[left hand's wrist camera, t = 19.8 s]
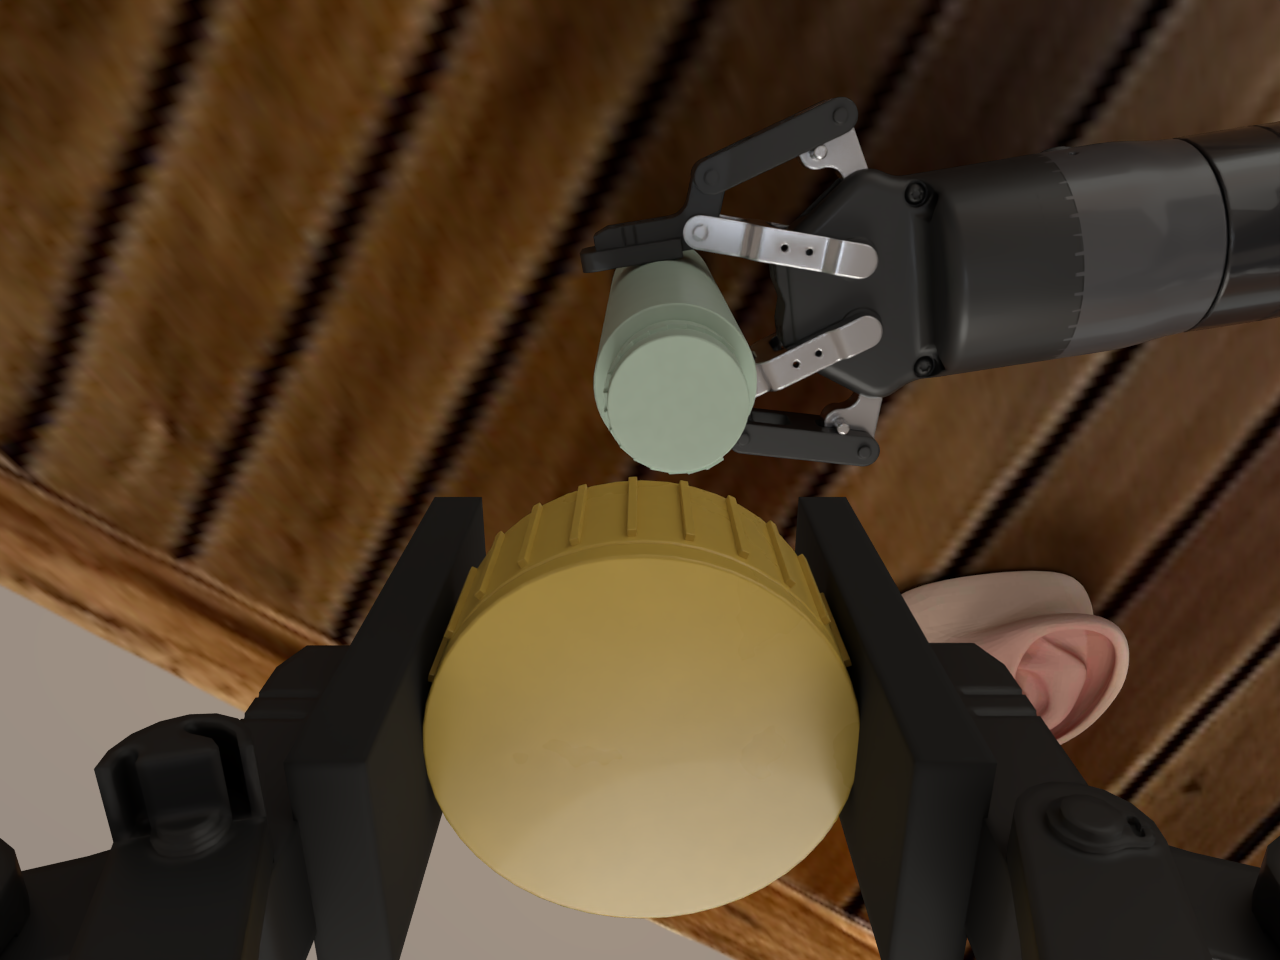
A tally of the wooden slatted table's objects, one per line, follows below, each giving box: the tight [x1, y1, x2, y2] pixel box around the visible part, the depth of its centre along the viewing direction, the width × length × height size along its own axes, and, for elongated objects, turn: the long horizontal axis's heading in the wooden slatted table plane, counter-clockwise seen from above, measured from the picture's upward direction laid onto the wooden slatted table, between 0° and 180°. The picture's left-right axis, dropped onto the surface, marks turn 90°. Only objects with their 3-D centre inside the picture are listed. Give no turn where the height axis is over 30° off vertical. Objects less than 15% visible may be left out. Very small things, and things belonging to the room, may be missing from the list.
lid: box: [422, 477, 860, 918], centre depth 12 cm, size 5×5×2 cm
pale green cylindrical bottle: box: [594, 250, 757, 474], centre depth 32 cm, size 4×4×19 cm
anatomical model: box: [901, 571, 1129, 745], centre depth 45 cm, size 13×4×12 cm
